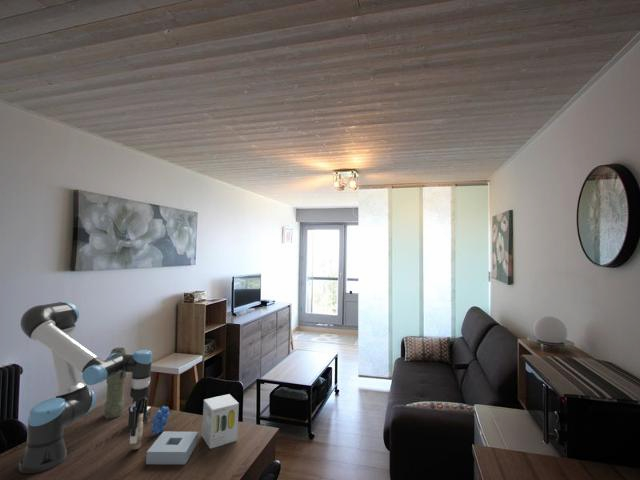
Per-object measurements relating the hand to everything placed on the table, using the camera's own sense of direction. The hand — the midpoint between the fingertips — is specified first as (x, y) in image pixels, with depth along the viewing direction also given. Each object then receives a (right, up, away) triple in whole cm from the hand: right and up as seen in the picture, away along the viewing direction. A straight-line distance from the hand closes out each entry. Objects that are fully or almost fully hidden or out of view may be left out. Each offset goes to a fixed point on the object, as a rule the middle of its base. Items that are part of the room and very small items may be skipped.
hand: (136, 439), depth 145 cm
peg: (0, -3, 0) cm, 3 cm away
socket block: (+17, -5, -1) cm, 18 cm away
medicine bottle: (-11, -6, +22) cm, 25 cm away
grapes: (+3, -6, +15) cm, 16 cm away
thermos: (-29, -5, +30) cm, 42 cm away
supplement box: (+34, -6, +11) cm, 36 cm away
